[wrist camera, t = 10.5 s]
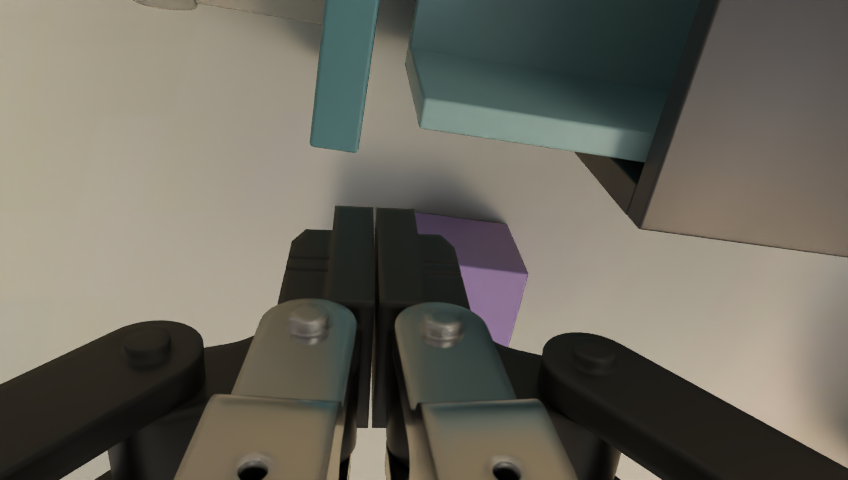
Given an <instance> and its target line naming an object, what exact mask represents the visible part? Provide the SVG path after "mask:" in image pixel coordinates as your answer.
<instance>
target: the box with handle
mask: <svg viewBox="0 0 848 480" xmlns="http://www.w3.org/2000/svg"><path fill="white" fill-rule="evenodd" d="M133 1H135V2H137V3H139V4H142V5H146V6H150V7H155V8H161V9H169V10H192V9H195V8H196V7H197V4H198V3H199V4H205V5H211V6H217V7H223V8H229V9H235V10H241V11H246V12H252V13H258V14H264V15H270V16H276V17H282V18H288V19H293V20H299V21H305V22H311V23H317V24H323V25H322V34H321V43H320V53H319V62H318V71H317V80H316V90H315V99H314V108H313V117H312V126H311V136H310V145H311V146H313V147H318V148H325V149H332V150H339V151H346V152H353V153H355V152H357V151H358V149H359V142H360V135H361V128H362V121H363V114H364V107H365V100H366V93H367V86H368V79H369V71H370V64H371V57H372V50H373V43H374V36H375V29H376V22H377V15H378V8H379V1H380V0H133ZM698 3H699V0H416V1H415V7H414V13H413V19H412V25H411V32H410V38H409V44H408V50H407V56H406V62H405V66H406V70H407V74H408V79H409V83H410V88H411V92H412V97H413V101H414V105H415V110H416V114H417V119H418V123H419V127H420V128H422V129H428V130H435V131H442V132H448V133H455V134H461V135H468V136H475V137H481V138H488V139H494V140H501V141H508V142H514V143H521V144H527V145H534V146H541V147H547V148H554V149H560V150H567V151H574V152H580V153H587V154H593V155H600V156H607V157H613V158H620V159H626V160H633V161H640V162H645V161H646V158H647V155H648V152H649V149H650V146H651V143H652V140H653V137H654V134H655V131H656V128H657V125H658V122H659V119H660V116H661V113H662V110H663V108H664V105H665V102H666V99H667V96H668V93H669V90H670V87H671V84H672V81H673V78H674V75H675V72H676V69H677V66H678V63H679V60H680V57H681V54H682V51H683V48H684V45H685V42H686V39H687V36H688V33H689V30H690V27H691V24H692V21H693V18H694V15H695V12H696V9H697V6H698Z"/></svg>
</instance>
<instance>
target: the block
mask: <svg viewBox="0 0 848 480" xmlns="http://www.w3.org/2000/svg"><path fill="white" fill-rule="evenodd" d="M415 217H416V223H417V230H418V234H437V235H442V236H443V237H444V238H445V239H446V240H447V241H448V242H449V243H450V244H451V245H453V246H454V247H455V251H456V255H457V259H458V264H459V266H460V270H461V276H462V278H463V282H464V286H465V290H466V294H467V298H468V302H469V306H470V310H471V311H473V312H474V313H476V314H477V315H478V316H480V317H481V318H482V319H483V320H484V321H485V323H486V325H487V327H488V329H489V332H490V334H491V337H492V339H493V341H494V342H496V343H499V344H501V345H503V346H506V347H508V346H509V342H510V339H511V335H512V331H513V328H514V324H515V321H516V317H517V313H518V310H519V306H520V303H521V299H522V295H523V292H524V288H525V285H526V281H527V277H528V272H527V270H526V267H525V265H524V263H523V260H522V258H521V256H520V253H519V251H518V249H517V246H516V244H515V242H514V239H513V237H512V235H511V232H510V230H509V228H508V226H507V225H506V224H499V223H492V222H484V221H477V220H469V219H462V218H454V217H447V216H439V215H432V214H424V213H417V212H415Z"/></svg>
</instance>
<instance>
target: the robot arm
mask: <svg viewBox="0 0 848 480" xmlns="http://www.w3.org/2000/svg"><path fill="white" fill-rule="evenodd" d="M371 363H372V428H386V437H387V440H386V454H385V474H386V480H620V479H619V478H617V477H616V476H615V473H616V470H617V466H618V462H619V459H620V455H621V452H622V453H623V454H625V455H626V456H628V457H629V458H631V459H632V460H634V461H635V462H637V463H638V464H640V465H641V466H643V467H644V468H646V469H647V470H649V471H650V472H652V473H653V474H655V475H656V476H658V477H659V478H661V479H662V480H848V468H846V467H844V466H842V465H840V464H838V463H837V462H835V461H833V460H831V459H829V458H828V457H826V456H824V455H822V454H820V453H818V452H817V451H815V450H813V449H811V448H809V447H807V446H806V445H804V444H802V443H800V442H798V441H796V440H795V439H793V438H791V437H789V436H787V435H786V434H784V433H782V432H780V431H778V430H776V429H775V428H773V427H771V426H769V425H767V424H765V423H764V422H762V421H760V420H758V419H756V418H754V417H753V416H751V415H749V414H747V413H745V412H744V411H742V410H740V409H738V408H736V407H734V406H733V405H731V404H729V403H727V402H725V401H723V400H722V399H720V398H718V397H716V396H714V395H712V394H711V393H709V392H707V391H705V390H703V389H702V388H700V387H698V386H696V385H694V384H692V383H691V382H689V381H687V380H685V379H683V378H681V377H680V376H678V375H676V374H674V373H672V372H670V371H669V370H667V369H665V368H663V367H661V366H660V365H658V364H656V363H654V362H652V361H650V360H649V359H647V358H645V357H643V356H641V355H639V354H638V353H636V352H634V351H632V350H630V349H628V348H627V347H625V346H623V345H621V344H619V343H617V342H615V341H613V340H611V339H608V338H605V337H602V336H599V335H595V334H589V333H565V334H561V335H557V336H555V337H553V338H551V339H550V340H549V341H548V342H547V343H546V344H545V346H544V348H543V353H542V356H541V355H537V354H532V353H528V352H524V351H519V350H515V349H512V348H508V347H506V346H503V345H501V344H499V343H496V342H494V341H493V339H492V337H491V334H490V332H489V329H488V327H487V325H486V323H485V321H484V320H483V319H482V318H481V317H480V316H478V315H477V314H476V313H474V312H473V311H471V310H470V306H469V302H468V298H467V294H466V290H465V286H464V282H463V278H462V276H461V270H460V266H459V264H458V259H457V255H456V251H455V247H454V246H453V245H451V244H450V243H449V242H448V241H447V240H446V239H445V238H444V237H443V236H442V235H437V234H418V230H417V223H416V217H415V211H414V209H405V208H382V207H377V208H376V219H375V238H374V220H373V207H357V206H335V213H334V222H333V230H310V229H306V230H305V231H304V232H302V233H301V234H300V235H299V236H298V237H296V238H295V239H294V240H293V241H292V243H291V248H290V252H289V258H288V261H287V265H286V270H285V274H284V278H283V282H282V287H281V291H280V296H279V300H278V304H277V305H276V306H275V307H273V308H271V309H270V310H268V311H267V312H266V313H265V314H264V315H263V317H262V319H261V321H260V323H259V326H258V328H257V330H256V333H255V335H254V336H252V337H249V338H247V339H244V340H241V341H238V342H234V343H229V344H224V345H218V346H212V347H206V348H204V346H203V339H202V337H201V335H200V334H199V333H198V332H197V331H196V330H195V329H193V328H192V327H190V326H188V325H185V324H182V323H179V322H173V321H161V320H160V321H146V322H140V323H135V324H132V325H128V326H125V327H122V328H120V329H118V330H115V331H113V332H111V333H109V334H107V335H105V336H103V337H100V338H98V339H96V340H94V341H92V342H90V343H88V344H86V345H83V346H81V347H79V348H77V349H75V350H73V351H71V352H68V353H66V354H64V355H62V356H60V357H58V358H56V359H54V360H51V361H49V362H47V363H45V364H43V365H41V366H39V367H37V368H34V369H32V370H30V371H28V372H26V373H24V374H22V375H20V376H17V377H15V378H13V379H11V380H9V381H7V382H5V383H3V384H0V480H60V479H61V478H63V477H64V476H66V475H68V474H69V473H71V472H73V471H74V470H76V469H78V468H79V467H81V466H82V465H84V464H86V463H87V462H89V461H91V460H92V459H94V458H95V457H97V456H99V455H100V454H102V453H104V452H105V451H107V450H108V455H109V461H110V467H111V470H109V471H107V472H106V473H104V474H103V475H101V476H100V477H98V478H97V479H95V480H349V476H350V468H351V453H352V452H353V450H354V448H355V444H356V432H357V428H368V417H369V399H370V381H371Z"/></svg>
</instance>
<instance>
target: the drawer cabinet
mask: <svg viewBox="0 0 848 480" xmlns="http://www.w3.org/2000/svg"><path fill="white" fill-rule="evenodd" d="M575 153H576V155H577V156H578V157H579V158H580V159H581V161H582V162H583V163H584V164H585V166H586V167H587V168H588V169H589V170H590V172H591V173H592V174H593V175H594V176H595V178H596V179H597V180H598V181H599V182H600V184H601V185H602V186H603V187H604V188H605V190H606V191H607V192H608V193H609V194H610V196H611V197H612V198H613V199H614V200H615V202H616V203H617V204H618V205H619V206H620V208H621V209H622V210H623V211H624V212H625V214H626V215H628V217H629V218H630V219H631V220H632V221H633V223H634V224H635V225H636V226H637V227H638V228H639V229H643V230H650V231H658V232H665V233H672V234H680V235H687V236H694V237H702V238H709V239H716V240H724V241H731V242H738V243H746V244H753V245H760V246H768V247H775V248H782V249H790V250H797V251H804V252H812V253H819V254H826V255H834V256H841V257H848V0H699V3H698V6H697V9H696V12H695V15H694V18H693V21H692V24H691V27H690V30H689V33H688V36H687V39H686V42H685V45H684V48H683V51H682V54H681V57H680V60H679V63H678V66H677V69H676V72H675V75H674V78H673V81H672V84H671V87H670V90H669V93H668V96H667V99H666V102H665V105H664V108H663V110H662V113H661V116H660V119H659V122H658V125H657V128H656V131H655V134H654V137H653V140H652V143H651V146H650V149H649V152H648V155H647V158H646V161H645V162H640V161H633V160H626V159H620V158H613V157H607V156H600V155H593V154H587V153H580V152H575Z"/></svg>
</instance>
